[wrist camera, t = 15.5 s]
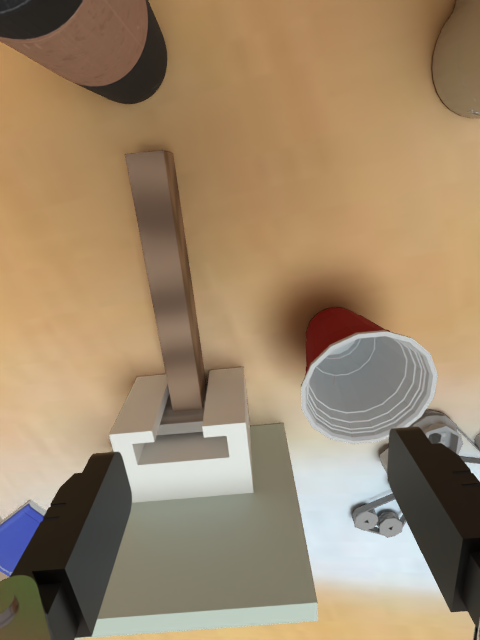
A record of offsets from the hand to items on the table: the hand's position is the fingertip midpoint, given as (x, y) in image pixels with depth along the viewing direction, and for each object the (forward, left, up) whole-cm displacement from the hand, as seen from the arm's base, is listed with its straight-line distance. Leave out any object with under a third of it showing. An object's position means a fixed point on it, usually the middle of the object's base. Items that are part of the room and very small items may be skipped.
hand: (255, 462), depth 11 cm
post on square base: (+2, -7, -28) cm, 29 cm away
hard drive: (+35, -33, -29) cm, 56 cm away
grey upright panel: (+17, -7, -28) cm, 34 cm away
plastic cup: (+9, +9, -28) cm, 31 cm away
